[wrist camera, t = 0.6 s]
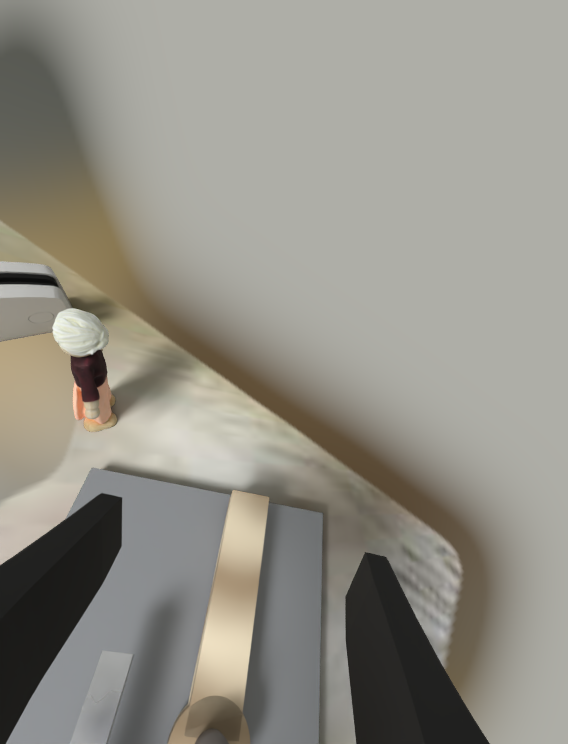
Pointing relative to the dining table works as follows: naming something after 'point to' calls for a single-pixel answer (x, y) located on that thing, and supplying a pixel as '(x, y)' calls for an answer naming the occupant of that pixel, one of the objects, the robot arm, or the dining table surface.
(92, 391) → the grandmother figurine
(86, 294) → the dining table surface
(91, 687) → the keeper
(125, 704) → the board
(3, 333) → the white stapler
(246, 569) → the link
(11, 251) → the dining table surface
